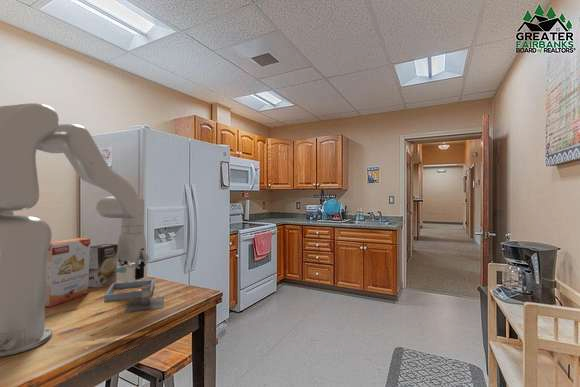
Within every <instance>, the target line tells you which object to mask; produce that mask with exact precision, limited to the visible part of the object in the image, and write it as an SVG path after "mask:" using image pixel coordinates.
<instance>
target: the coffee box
mask: <svg viewBox="0 0 580 387" xmlns="http://www.w3.org/2000/svg"><path fill="white" fill-rule="evenodd" d="M117 250H118V243H117V244H116V243H114V244H113V243H104V244H98V245H92V246H91V245H90V256H89V279H88V288H89V287H90V288H97V289H98V288H101V287H104V286H107V285H110V284H113V283H117V267H118V258H117V256H116V254H117Z"/></svg>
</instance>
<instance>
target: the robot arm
mask: <svg viewBox="0 0 580 387" xmlns="http://www.w3.org/2000/svg"><path fill="white" fill-rule="evenodd" d="M37 151H41V152H44V153H49V154H64V156H65V157H66V159H67V160H68V162H69V163H70V164H71V166H72V168H73V169H74V171H75V173H76V174H77V175H78V177H79V179H80V180H82V181H84V182H86V183H88V184H90V185H93V186H96V187H98V188H101V189H103V190H105V191H107V192H108V193H109V194H110V195H111V196H105V197H102V198H101V199H99V200H98V201H97V203H96V206H95V210H96V212H97V213H98V215H100V216H101V217H102V218H103V217H104V218H109V219H120V220H121V222H120V223H121V224H120V225H121V226H120V234H119V236H118V240H117V242H118V243H117V244H118V250H117V254H116V256H117V262H118V263H119V266H123V265H127V264H130V262H131V263H135V264H136V267H137V268H136V269H135V279H136V280H137V279H141V278H143V277H144V267H145V265H146V264H147V265H148V262H149V261H150V257H149V255H148V254H147V243H146V242H147V240H146V235H145V199H144V198H143V197H139V195H138V193H137V192H136V190H135V187H133V185H132V184H131V183H130V182H129V181H128V180H127V179H125V178H124V177H123V176H122V175H121V174H119V173H118V172H117V171H115V170H114V169H113V168H111V167H110V166H109V165H108V163H107V161H106V160H105V158H104V156H103V154H102V153H101V150H100V149H99V147H98V146H97V143H96V142H95V140H94V138H93V136H92V135H91V133H90V132H89V130H88V129H87V128H85V126H82V125H80V124H75V123H63V124H60V119H59V115H58V113H57V111H56V110H55V109H54V108H52V107H51V106H49V105H47V104H43V103H36V102H35V103H34V102H33V103H20V104H11V105H10V104H8V105H2V106H1V105H0V357H6V356H11V355H16V354H20V353H23V352H26V351H28V350H31V349H34V348H37V347H39V346H40V345H43V344H45V343H46V342H47V341H49V340H50V339H51V337H52V336H53V330H52V329H51V328H50V327H45V316H46V315H45V312H46V311H45V310H46V306H45V282H46V260H47V254H48V249H49V246H50V242H52V238H53V237H52V236H53V235H52V234H53V233H52V228H51V227H50V225H49V224H48V223H47V222H46V221H45V220H43V219H42V218H39V217H36V216H32V215H31V216H30V215H18V214H17V215H15V214H14V211H15V212H17V211H19V212H20V211H25V210H30V209H32V208H33V207H34V206H36V205H37V204H38V202H39V200H40V184H39V178H38V172H37V171H38V170H37V160H36V156H37V155H36V153H37ZM139 263H140V264H139ZM141 280H142V279H141Z"/></svg>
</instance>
